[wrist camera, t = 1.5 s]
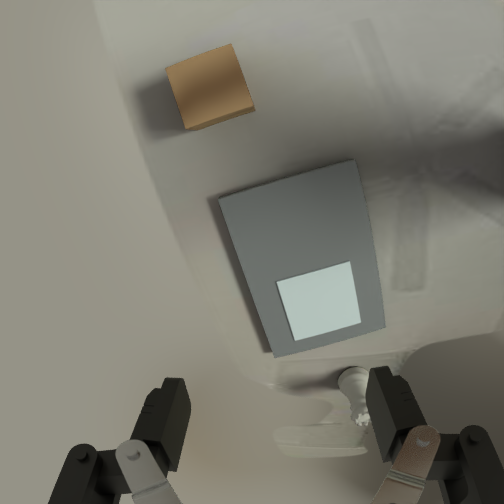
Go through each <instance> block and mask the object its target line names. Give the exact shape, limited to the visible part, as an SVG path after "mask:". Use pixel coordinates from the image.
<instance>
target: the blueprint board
mask: <svg viewBox="0 0 504 504" xmlns="http://www.w3.org/2000/svg"><path fill="white" fill-rule="evenodd" d="M218 202H219V204H220V207H221V210H222V213H223V216H224V219H225V222H226V224H227V227H228V230H229V233H230V236H231V239H232V241H233V244H234V247H235V250H236V253H237V256H238V258H239V261H240V264H241V267H242V270H243V272H244V275H245V278H246V281H247V283H248V286H249V289H250V292H251V295H252V297H253V300H254V303H255V306H256V308H257V311H258V314H259V317H260V319H261V322H262V325H263V328H264V330H265V333H266V336H267V339H268V341H269V344H270V347H271V349H272V352H273V355H274V358H277V357H282V356H286V355H290V354H294V353H298V352H302V351H306V350H310V349H314V348H318V347H322V346H325V345H329V344H333V343H336V342H340V341H343V340H347V339H350V338H353V337H357V336H360V335H363V334H367V333H370V332H373V331H376V330H379V329H382V328H385V327H386V325H385V316H384V307H383V299H382V292H381V285H380V278H379V271H378V265H377V259H376V253H375V247H374V241H373V236H372V231H371V225H370V220H369V215H368V211H367V206H366V201H365V197H364V192H363V188H362V184H361V179H360V175H359V171H358V167H357V163H356V160H354V159H351V160H347V161H343V162H339V163H335V164H331V165H328V166H324V167H320V168H316V169H313V170H309V171H306V172H302V173H298V174H295V175H291V176H288V177H284V178H281V179H278V180H274V181H271V182H267V183H264V184H261V185H257V186H254V187H251V188H248V189H244V190H241V191H238V192H235V193H232V194H228V195H225V196H222V197H219V199H218Z"/></svg>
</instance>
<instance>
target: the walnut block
mask: <svg viewBox="0 0 504 504" xmlns="http://www.w3.org/2000/svg"><path fill="white" fill-rule="evenodd" d="M165 69H166V72H167V75H168V78H169V81H170V84H171V87H172V90H173V93H174V96H175V99H176V102H177V105H178V108H179V111H180V114H181V117H182V120H183V123H184V126H185V129H189V130H200V129H203V128H205V127H208V126H211V125H214V124H217V123H219V122H222V121H225V120H228V119H231V118H234V117H237V116H240V115H243V114H247V113H250V112H253V111H255V108H254V105H253V102H252V99H251V96H250V93H249V90H248V88H247V85H246V82H245V79H244V76H243V74H242V71H241V68H240V65H239V62H238V60H237V57H236V54H235V52H234V49H233V47H232V44H229V45H226V46H222V47H220V48H217V49H214V50H211V51H208V52H205V53H202V54H200V55H197V56H194V57H192V58H189V59H187V60H184V61H182V62H179V63H177V64H174V65H172V66H170V67H167V68H165Z"/></svg>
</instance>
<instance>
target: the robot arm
mask: <svg viewBox="0 0 504 504" xmlns="http://www.w3.org/2000/svg"><path fill="white" fill-rule="evenodd" d="M365 400H366V406H367V409H368V412H369V416H370V419H371V422H372V425H373V429H374V432H375V435H376V439H377V442H378V446H379V449H380V453H381V456H382V460H383V462H388V461H391V462H392V465H393V466H392V468H391V470H390V471H389V473H388V475H387V476H386V478H385V480H384V482H383V483H382V485H381V487H380V489H379V490H378V492H377V494H376V496H375V497H374V499H373V500H372V502H371V504H416V503H417V502H418V499H419V497H420V495H421V493H422V491H423V489H424V486H425V480H438V482H439V486H440V489H441V493H442V497H443V501H444V504H504V469H503V467H502V464H501V462H500V460H499V458H498V455H497V453H496V451H495V448H494V446H493V444H492V442H491V439H490V437H489V435H488V433H487V432H486V430H485V429H484V428H482V427H480V426H476V425H471V426H467V427H465V428H464V429H463V430H462V431H461V432H460V434H440V433H439V432H438V431H437V430H436V429H435V428H433V427H431V426H428V425H427V423H426V421H425V419H424V416H423V414H422V412H421V410H420V408H419V405H418V404H417V401H416V399H415V397H414V395H413V393H412V391H411V388H410V386H409V384H408V382H407V381H405V380H404V379H403V378H402V377H401V376H400V375H398V376H393V375H392V373H391V371H390V368H389V367H388V366H382V367H376V368H371V369H370V372H369V378H368V383H367V388H366V393H365ZM190 414H191V402H190V399H189V395H188V392H187V389H186V385H185V382H184V379H183V378H165V379H164V382H163V384H162V387H161V389H160V388H155V389H153V390H152V391H151V392H150V394H148V396H147V398H146V400H145V403H144V406H143V407H142V410H141V414H140V415H139V417H138V420H137V422H136V425H135V427H134V430H133V433H132V435H131V438H130V440H128V441H125V442H123V443H121V444H120V445H119V446H118V448H117V449H115V450H106V451H96V449H95V448H94V447H93V446H91V445H89V444H79V445H77V446H74V447H73V448H72V449H71V450H70V451H69V453H68V455H67V458H66V460H65V462H64V465H63V467H62V470H61V472H60V474H59V477H58V479H57V482H56V484H55V487H54V489H53V492H52V495H51V497H50V500H49V502H48V504H119V500H120V497H121V494H128V493H132V494H133V495H132V499H133V501H134V503H135V504H182V502H181V501H180V499H179V498H178V497H177V495H176V493H175V492H174V490H173V488H172V487H171V485H170V484H169V482H168V480H167V479H166V478H167V474H168V471H173V472H176V471H177V468H178V464H179V459H180V455H181V451H182V446H183V443H184V439H185V435H186V431H187V427H188V422H189V418H190Z"/></svg>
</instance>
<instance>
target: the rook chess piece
mask: <svg viewBox="0 0 504 504" xmlns="http://www.w3.org/2000/svg"><path fill="white" fill-rule="evenodd" d="M368 378H369V374H368V372H367V371H366V370H365V369H363V368H360V367H352V368H349V369H347V370H345V371H344V372H343V373H342V374H341V375H340V377H339V379H338V386H339V388H340V391H341V392H342V393H343V394H344V395H345V396H347V397H348V399H349V401H350V403H351V407H350V409H351V411H353V412H352V414H351V420H353V421H354V422H355V424H357V425H358V426H361V425H362V424H361V423H364V426H365V425H368V421H370V422H371V419H370V416H369V412H368V409H367V406H366V400H365V393H366V388H367V383H368ZM371 423H372V422H371Z"/></svg>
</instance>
